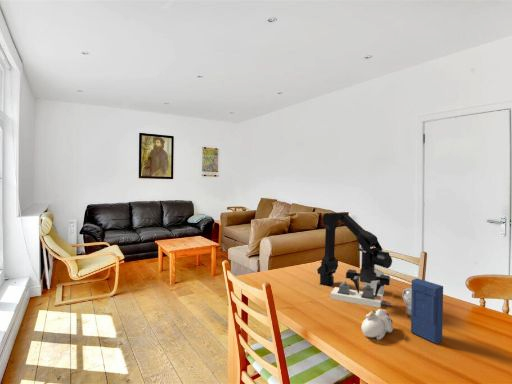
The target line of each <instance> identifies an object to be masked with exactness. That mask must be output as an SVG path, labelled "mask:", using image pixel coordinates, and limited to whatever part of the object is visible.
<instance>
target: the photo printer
mask: <svg viewBox="0 0 512 384" xmlns="http://www.w3.org/2000/svg"><path fill="white" fill-rule="evenodd" d="M375 273H376V274H377V276H379V277H380V276H381V274H382V275H385V273H384V271H382V270H380V269H377V268H375ZM377 282H378V281H377V280H376V281H371V283H366V282H362V283H363V289H364V287H366V285H370V286H371V288H374V294H375V292H376V287H377ZM377 294H380V295H382V296H383V295H385V285H384V286H381V287H380V289H379V291H378V293H377Z"/></svg>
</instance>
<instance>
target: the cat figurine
mask: <svg viewBox="0 0 512 384" xmlns="http://www.w3.org/2000/svg"><path fill="white" fill-rule="evenodd" d="M361 331H362V333H363V334H364V335H365V337H367V338H376V340H377V341H380V340H382V339H383V338H384V337H385V335H386V333H392V332H393V319H392V318H391V316H390V314H389V313H388V312H387V310H386V309H382V308H378V309H377V310H373V309H371V310H370V311H369V312H368V313H367V314H366V315H365V319H364V320H363V321H362V322H361Z"/></svg>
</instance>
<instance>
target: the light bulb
mask: <svg viewBox="0 0 512 384" xmlns="http://www.w3.org/2000/svg"><path fill="white" fill-rule="evenodd" d="M401 294H402V295H401V297H402V300H403V301H404V304H405V308H406V314H407V315H409V316H410V317H411V297H412V289H411V287H407V288H405V289H403V291H402V293H401Z"/></svg>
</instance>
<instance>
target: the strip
mask: <svg viewBox="0 0 512 384" xmlns="http://www.w3.org/2000/svg"><path fill="white" fill-rule="evenodd" d="M330 300H335V301H339V302H340V301H341V302H346V303H352V304H355V305H357V304H358V305H362V306H367V307H371V308H378V309H382V305H383V306H390V307H392V302H386V301H383V295H380V294H377V296H376V297H375V293H374V300H373V299H367V298H363V291H362V290H359V294H358V292H357V289H350V291H349V295H345V294H339V286H338V287H337V286H335V287H333V289H332V291H331V292H330Z"/></svg>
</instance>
